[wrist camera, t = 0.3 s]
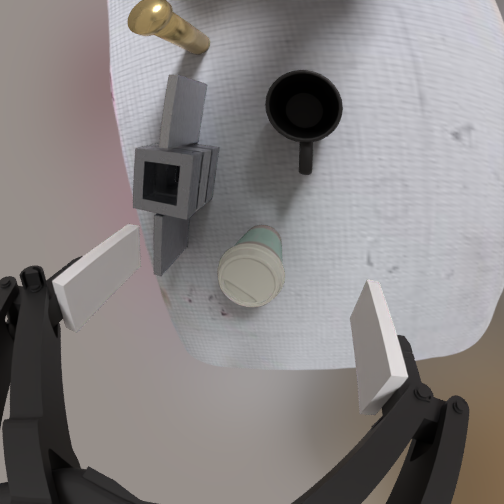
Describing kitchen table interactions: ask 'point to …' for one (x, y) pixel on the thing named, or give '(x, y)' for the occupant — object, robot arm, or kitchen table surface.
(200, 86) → the grey piece
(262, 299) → the coffee cup
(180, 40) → the pin
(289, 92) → the mug
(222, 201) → the kitchen table surface
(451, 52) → the kitchen table surface
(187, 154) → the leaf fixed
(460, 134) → the kitchen table surface
